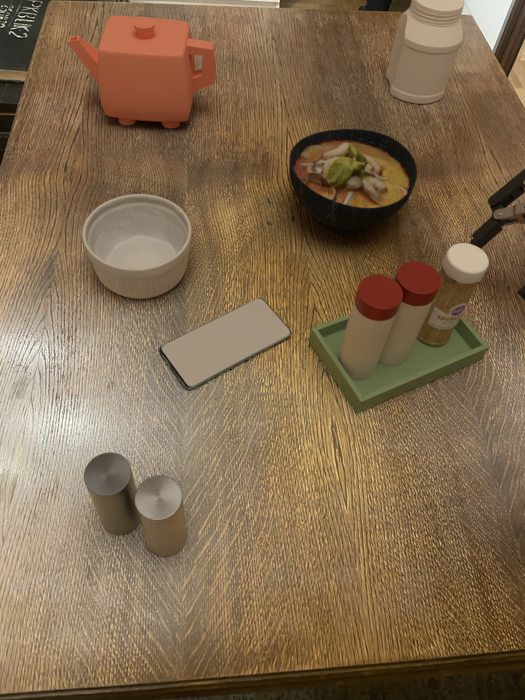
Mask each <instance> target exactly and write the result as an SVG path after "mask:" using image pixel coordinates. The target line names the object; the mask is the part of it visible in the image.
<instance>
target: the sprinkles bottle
mask: <svg viewBox="0 0 525 700" xmlns="http://www.w3.org/2000/svg"><path fill="white" fill-rule="evenodd" d="M441 264H442V265H441V268H440V270H439V272H438V273H439V275H440V278H441V285H440V287H439V290H438V292H437V294H436V296H435V298H434V301H433V303H432V305H431V307H430V309H429V312H428V314H427V316H426V318H425V320H424V322H423V325H422V327H421V329H420V331H419V333H418V336H417V337H418V338H419V339H420V340H421V341H422V342H424V343H426V344H428V345H431V346H441V345H444V344H445V343H447V342H448V340H449V339H450V337H451V333H452V331H453V329H454V327H455V326H456V325H457V323H458V321H459V319H460V317H461V316H463V314H464V312H465V310H466V309H467V308H466V307H467V305H468V303H469V301H470V299H471V297H472V295H473V293H474V291H475V290H476V288H477V286H478V284H479V283H480V281H481V280H482V279H483V278H484V276H485V274H486V272H487V270H488V268H489V265H490V260H489V256H488V255H487V254H486V252H485V251H484V250H483V249H482V248H481V249H480V248H479V247H477V246H475V245H472V244H471V243H468V242H460V243H455V244H452V246H450V247H449V248H448V250H447V251H446V253H445V255H444V258H443V259H442V263H441Z"/></svg>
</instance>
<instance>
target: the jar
mask: <svg viewBox="0 0 525 700" xmlns="http://www.w3.org/2000/svg"><path fill="white" fill-rule="evenodd" d="M464 6H465V0H411V2H410V5H409V8H408V9H407V10H405V11H404V12H403V13H401V15H400V16H399V17H398V21H397V26H396V31H395V35H394V40H393V43H392V48H391V52H390V56H389V60H388V64H387V67H386V71H385V77H386V79H387V81H388V83H389V85H390V86H389V94H390V95H391V96H392V97H394V98H396V99H398V100H400V101H402V102H405V103H409V104H415V105H426V104H428V105H429V104H434V103H436V102H438V101H440V100H442V99H443V98H444V96H445V94H446V89H447V87H448V83H449V80H450V77H451V74H452V71H453V69H454V65H455V61H456V58H457V56H458V53H459V49H460V48H461V45H462V42H463V34H464V30H463V25H462V20H461V16H462V13H463V10H464Z"/></svg>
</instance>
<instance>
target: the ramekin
mask: <svg viewBox="0 0 525 700" xmlns="http://www.w3.org/2000/svg"><path fill="white" fill-rule="evenodd" d="M81 240H82V245H83V249H84V251H85V253H86V255H87V257H88V258H89V259H90V261H91V264H92V266H93V269H94V272H95V274H96V276H97V277H98V279H99V281H100V283H102V285H103V286H104V287H105V288H107V289H108V290H110V291H111V292H113V293H115V294H116V295H119V296H122V297H125V298H131V299H137V300H142V299H151V298H155V297H158V296H162V295H163V294H166V293H167V292H169V291H170V290H172V289H174V288H175V287H176V286H177V285H178V284H179V283H180V281H182V279H183V277H184V276H185V273H186V272H187V268H188V264H189V263H188V262H189V256H190V248H191V246H192V243H193V242H192V241H193V231H192V224H191V221H190V219H189V217H188V215H187V214H186V212H185V211H184V210H183V209H182V208H181V207H180V206H179V205H178V204H176V203H175V202H173V201H171V200H169V199H167V198H164V197H161V196H158V195H153V194H147V193H134V194H133V193H132V194H126V195H121V196H117V197H115V198H112V199H109V200H107V201H105V202H103V203H101V204H100V205H98V206H97V207H96V208H95V209H93V211H92V212H90V213H89V215H88V216H87V217H86V219H85V221H84V223H83V226H82V230H81Z"/></svg>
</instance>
